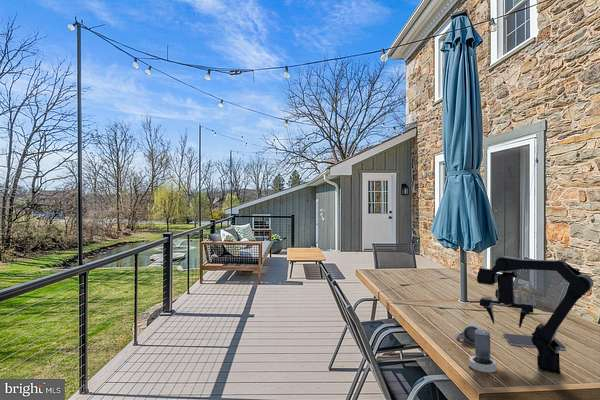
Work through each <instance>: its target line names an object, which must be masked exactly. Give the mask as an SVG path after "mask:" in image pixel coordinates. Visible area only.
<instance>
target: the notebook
mask: <svg viewBox="0 0 600 400" xmlns="http://www.w3.org/2000/svg"><path fill="white" fill-rule="evenodd" d="M532 336H533V335H525V334H514V333H513V334H512V333H503V337H504V338H505V340H506V341H508V343H509V344H510V345H511V346H517V347H527V348H536V347H535V346H534V344H533V343H532V340H531V339H532ZM554 340H555V341H556V342H557V343H558V344H559V345H560V346H561V348H560V350H559V351H566V349H567V348H566V346H565V345H564V344H563V343H562V342H560V341H559V339H557V338H556V337H555V338H554Z"/></svg>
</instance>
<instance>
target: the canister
mask: <svg viewBox="0 0 600 400" xmlns="http://www.w3.org/2000/svg"><path fill="white" fill-rule="evenodd" d="M480 329H481V328H480ZM480 329H478V330H475V344H474V349H475V350H474V353H475V355H474V356H475V362H476V363H479V364H484V365H489V364H491V359H492V358H491V355H492V354H491V331H488V330H487V329H481V330H480Z"/></svg>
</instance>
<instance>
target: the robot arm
mask: <svg viewBox="0 0 600 400" xmlns="http://www.w3.org/2000/svg"><path fill="white" fill-rule="evenodd" d="M517 270H530V271H531V270H532V271H533V270H534V271H552V272H553V271H554V272H555V271H556V272H557V273H558V274H559V275H560V276H561V278H563V279H564V280H565V281H566V282H567V283H569V285H568V286H567V290H566V292H565V293H566V294H565V295H564V297H563V299H562V300H561V301H560V303H559V304H558V306H557V307H556V308H555V309H554V311H553V313H552V314H551V315H550V318H549V319H548V320H547V322H546V323H545V324H543V323H541V322H540V323H539V324H538V325H537V326H536V327H535V329H534V331H533V332H531V335H530V336H532V339H531V340H532V343H533V344H534V346H535V347H534V348H535V349H536V350H537V355H536V356H537V357H536V360H537V364H536V365H537V367H538V370H539V371H543V372H549V373H552V374H558V375H560V374H561V367H560V366H561V365H560V363H561V362H560V353H559V352H560V351H561V350H560V348H561V346H560V345H559V344H558V343H557V342H556V341H555V340H554V338H556V335H557V331H558V329H559V328H560V326H561V324H562V323H563V322H564V320H565V319H566V318H567V316H568V314H569V313H570V312H571V311H572V309H573V308H574V306H575V305H576V304H577V302H578V301H579V300H580V299H581V298H582V297H583V296H584V295H585V294H586V293H588V292H589V291H590V290H591V289H592V288H593V286H594V280H593V279H592V277H591V276H589V275H587V274H584V273H582V272H581V271H579V270H578V269H576V268H574V267H573V266H572V265H570V264H568V263H567V262H566V261H565V260H564V259H553V260H552V259H529V258H528V259H525V258H519V257H514V256H511V255H510V256H509V255H504V256H501V257H498V258H497V259H496V260H495V263H494V265H493V267H492V268H486V267H478V272H477V276H476V281H477V283H478V284H479V285H488V286H495V284H497V289H495V294H494V295H495V296H494V297H495V298H497V300H494V299H493V298H492V297H489V296H488V297H487V296H482V297H481V298H480V299H479V306H480V307H483V309H485V310H486V311H487V313H488V315H489V317H490V320H491V322H492V325H494V324H495V314H494V306H498V307H506V308H514V309H520V315H519V322H518V328H519V329H521V327H522V324H523V321H524V319H525V317H526V316H527V315H530V313H531V314H533V313H534V309H535V308H534V307H535V306H534V305H533V304H532V303H530V302H522V303H521V304H519V303H514V302H515V295H514V291H515V284H514V282H515V279H514V278H516V279H517V278H520V274H518V273H517V272H516V271H517ZM500 272H502V273H500Z"/></svg>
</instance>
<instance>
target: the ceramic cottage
mask: <svg viewBox="0 0 600 400" xmlns="http://www.w3.org/2000/svg"><path fill="white" fill-rule="evenodd" d="M514 295H515V302H514V303H519V304H521V303H522V302H530V303H532V304H533V305H534V307H535V306H536V305H537V304H536V301H535V299H536V297H535V289H534V288H533V285H532V281H528V283H526V282H522V285H521V286H520V285H517V287H516V288H515V289H514Z"/></svg>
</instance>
